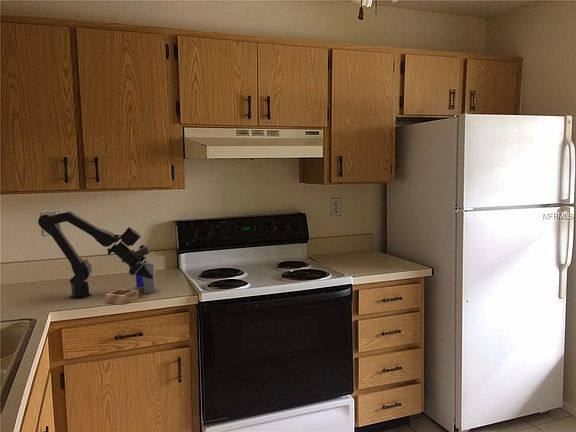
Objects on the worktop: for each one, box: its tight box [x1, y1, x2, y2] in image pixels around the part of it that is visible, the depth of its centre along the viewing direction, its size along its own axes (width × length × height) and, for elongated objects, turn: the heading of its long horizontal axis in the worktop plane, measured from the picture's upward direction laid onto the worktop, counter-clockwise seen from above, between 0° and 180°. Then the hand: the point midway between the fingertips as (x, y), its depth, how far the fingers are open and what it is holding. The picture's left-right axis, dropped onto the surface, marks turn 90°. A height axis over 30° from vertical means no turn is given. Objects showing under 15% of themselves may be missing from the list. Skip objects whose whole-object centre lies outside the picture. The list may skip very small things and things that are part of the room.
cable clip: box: [135, 275, 144, 288], centre depth 227 cm, size 12×4×6 cm, turn 170°
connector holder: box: [104, 288, 140, 305], centre depth 199 cm, size 10×10×4 cm
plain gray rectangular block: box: [143, 261, 157, 294], centre depth 212 cm, size 4×4×13 cm
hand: (152, 276), depth 212 cm, fingers closed on plain gray rectangular block, 4 cm apart
